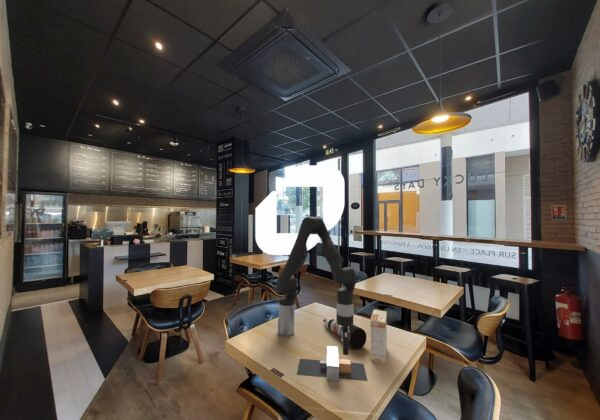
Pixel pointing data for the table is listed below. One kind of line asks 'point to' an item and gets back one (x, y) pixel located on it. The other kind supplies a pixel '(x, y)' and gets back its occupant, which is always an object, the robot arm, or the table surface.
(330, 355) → the housing
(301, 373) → the mat
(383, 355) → the coffeecake box
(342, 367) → the plug
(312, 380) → the table surface
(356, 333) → the black white tapered bottle
